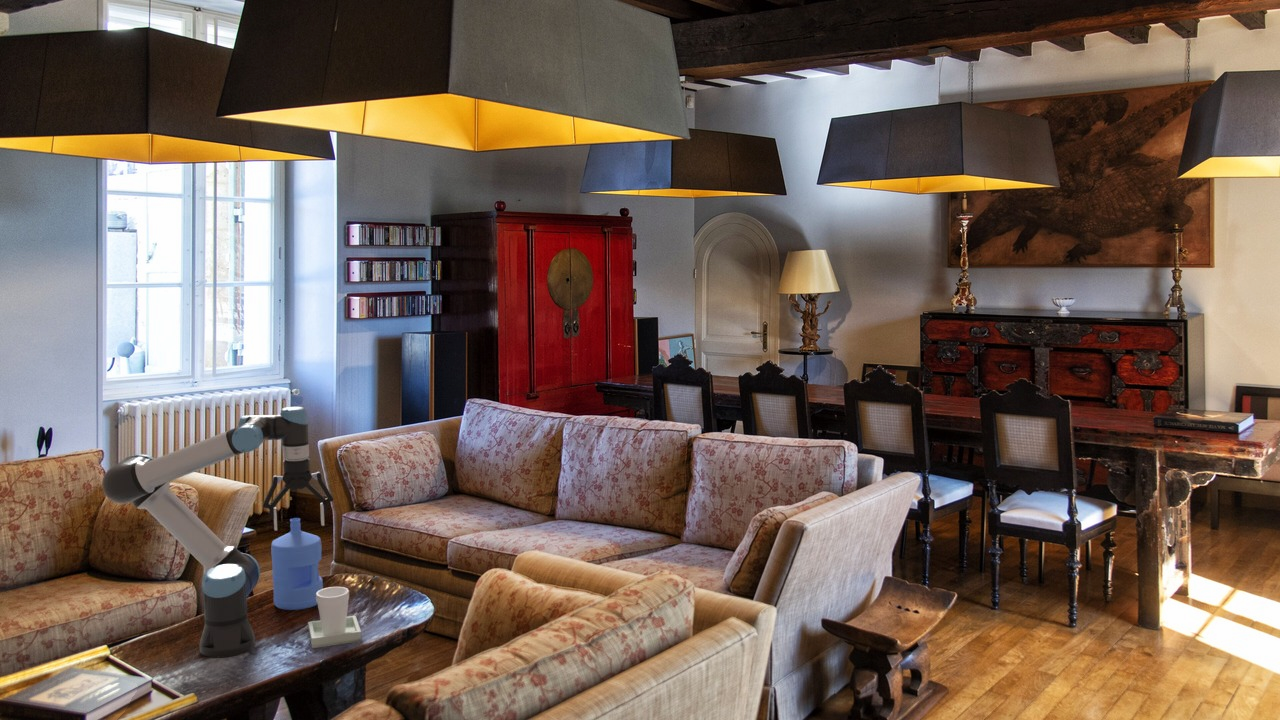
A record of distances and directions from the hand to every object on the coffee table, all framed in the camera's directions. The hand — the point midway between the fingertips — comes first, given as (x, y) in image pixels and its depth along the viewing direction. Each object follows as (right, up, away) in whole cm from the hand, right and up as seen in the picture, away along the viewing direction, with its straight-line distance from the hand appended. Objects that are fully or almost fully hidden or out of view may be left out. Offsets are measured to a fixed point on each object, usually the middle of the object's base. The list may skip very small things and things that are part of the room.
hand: (299, 527), depth 322 cm
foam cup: (+11, -32, -3) cm, 34 cm away
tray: (+12, -32, -3) cm, 34 cm away
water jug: (-8, -29, +25) cm, 39 cm away
